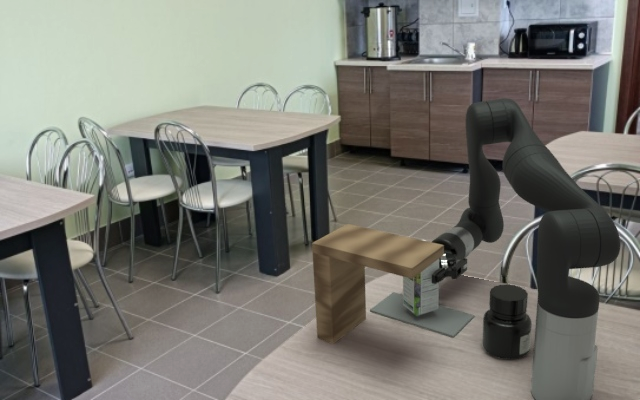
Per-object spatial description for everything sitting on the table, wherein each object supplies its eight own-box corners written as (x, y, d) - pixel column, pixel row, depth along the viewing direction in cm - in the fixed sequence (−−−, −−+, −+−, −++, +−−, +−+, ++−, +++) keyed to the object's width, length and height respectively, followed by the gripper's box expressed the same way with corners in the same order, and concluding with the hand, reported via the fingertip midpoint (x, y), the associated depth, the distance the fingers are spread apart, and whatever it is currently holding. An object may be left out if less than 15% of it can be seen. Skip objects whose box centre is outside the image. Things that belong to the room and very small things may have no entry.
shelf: (442, 343, 123) (443, 245, 116) (412, 372, 114) (412, 268, 107) (350, 313, 136) (347, 223, 129) (317, 338, 127) (312, 243, 120)
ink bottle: (535, 362, 115) (539, 305, 111) (486, 362, 116) (488, 304, 112) (523, 335, 124) (527, 280, 121) (478, 334, 125) (480, 280, 122)
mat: (474, 316, 132) (474, 315, 132) (453, 337, 125) (453, 335, 125) (393, 293, 144) (393, 292, 144) (369, 311, 136) (369, 309, 136)
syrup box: (402, 305, 135) (400, 243, 130) (424, 298, 137) (424, 237, 133) (416, 316, 130) (416, 253, 125) (440, 309, 132) (440, 246, 128)
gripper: (423, 226, 144) (386, 251, 132) (481, 238, 136) (447, 266, 124) (423, 256, 147) (386, 283, 135) (480, 269, 139) (447, 299, 126)
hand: (416, 275), depth 129 cm, fingers closed on syrup box, 7 cm apart
